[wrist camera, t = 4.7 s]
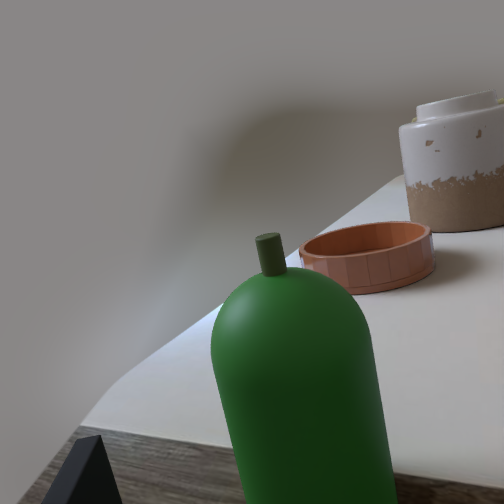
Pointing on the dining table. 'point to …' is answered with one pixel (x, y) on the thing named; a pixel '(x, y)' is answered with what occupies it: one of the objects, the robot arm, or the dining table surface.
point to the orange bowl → (372, 255)
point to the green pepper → (301, 388)
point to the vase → (456, 163)
